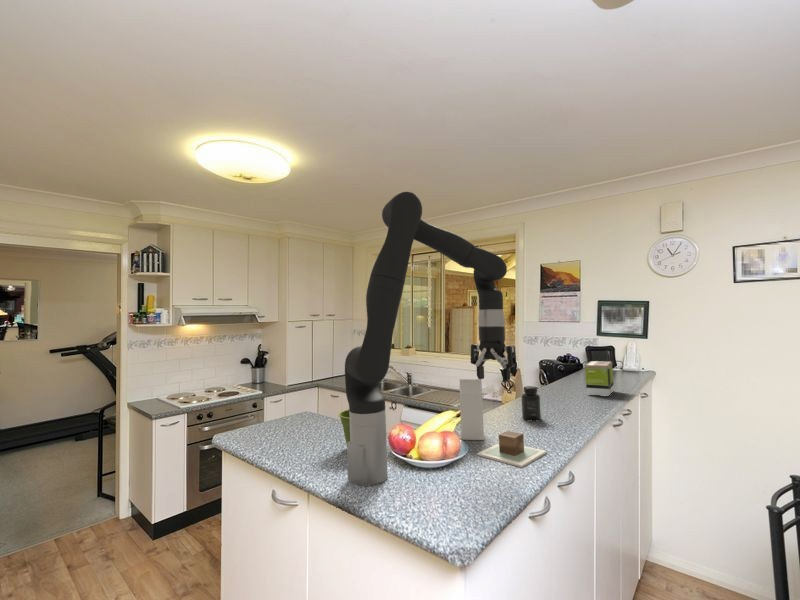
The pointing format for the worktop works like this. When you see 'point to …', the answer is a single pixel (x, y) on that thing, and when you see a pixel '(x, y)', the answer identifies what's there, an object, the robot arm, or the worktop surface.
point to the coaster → (517, 460)
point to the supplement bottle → (531, 404)
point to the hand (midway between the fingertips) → (493, 380)
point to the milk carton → (471, 409)
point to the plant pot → (345, 423)
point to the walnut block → (511, 443)
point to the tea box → (599, 377)
